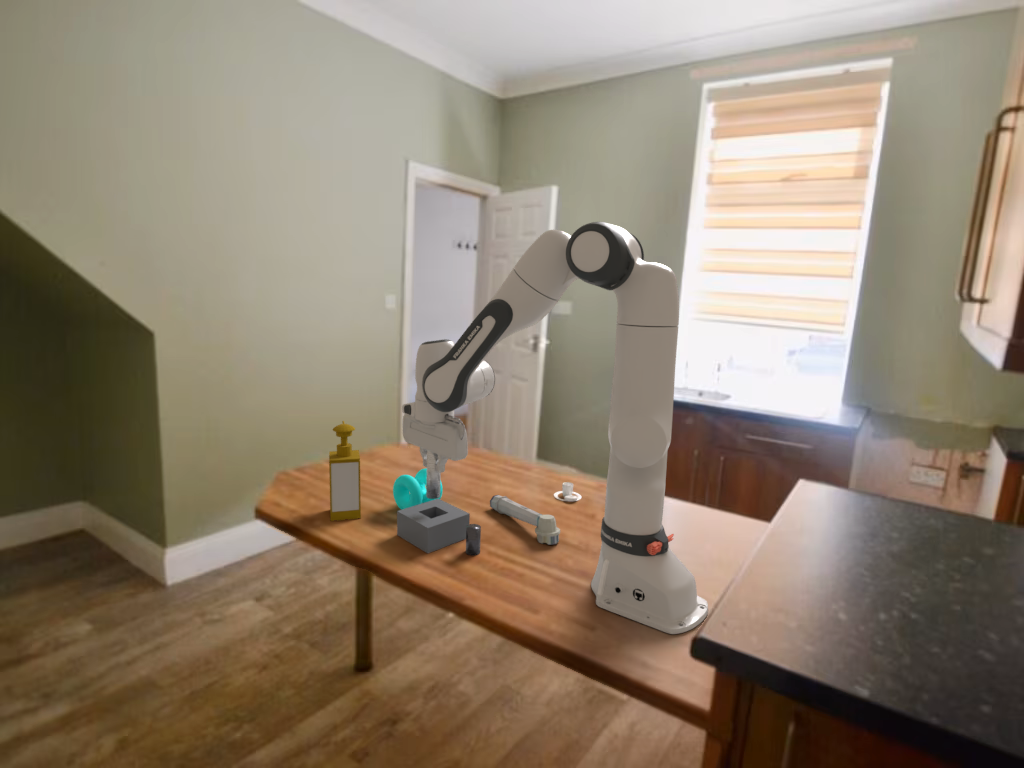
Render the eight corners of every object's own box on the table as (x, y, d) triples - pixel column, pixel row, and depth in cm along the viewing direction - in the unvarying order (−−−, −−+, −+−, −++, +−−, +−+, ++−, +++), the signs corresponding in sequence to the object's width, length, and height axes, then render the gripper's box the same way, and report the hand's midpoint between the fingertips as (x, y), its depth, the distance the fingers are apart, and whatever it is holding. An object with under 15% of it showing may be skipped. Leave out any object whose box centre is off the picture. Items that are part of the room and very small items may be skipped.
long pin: (442, 496, 129) (444, 442, 127) (431, 499, 127) (432, 445, 125) (434, 492, 131) (435, 439, 129) (423, 495, 129) (424, 441, 127)
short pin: (483, 552, 124) (483, 527, 123) (472, 557, 122) (472, 531, 121) (473, 547, 126) (474, 522, 125) (462, 551, 124) (463, 526, 123)
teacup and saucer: (577, 505, 154) (578, 491, 153) (549, 501, 156) (550, 487, 155) (584, 495, 162) (584, 481, 161) (557, 490, 164) (558, 477, 164)
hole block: (469, 537, 131) (469, 513, 130) (427, 553, 123) (427, 528, 122) (437, 521, 139) (438, 498, 138) (397, 534, 131) (397, 511, 130)
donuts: (390, 508, 146) (390, 471, 145) (419, 497, 154) (420, 463, 152) (415, 519, 140) (415, 481, 138) (444, 508, 148) (445, 472, 146)
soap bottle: (358, 499, 151) (357, 415, 147) (360, 518, 139) (359, 427, 135) (330, 501, 149) (328, 416, 145) (330, 521, 137) (328, 428, 133)
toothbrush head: (503, 492, 150) (564, 513, 129) (504, 516, 151) (565, 541, 130) (487, 495, 147) (546, 517, 126) (488, 521, 148) (547, 546, 127)
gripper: (475, 417, 121) (473, 478, 123) (419, 401, 135) (419, 455, 137) (452, 422, 116) (451, 484, 119) (397, 404, 130) (397, 460, 133)
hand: (433, 469), depth 128 cm, fingers closed on long pin, 3 cm apart
